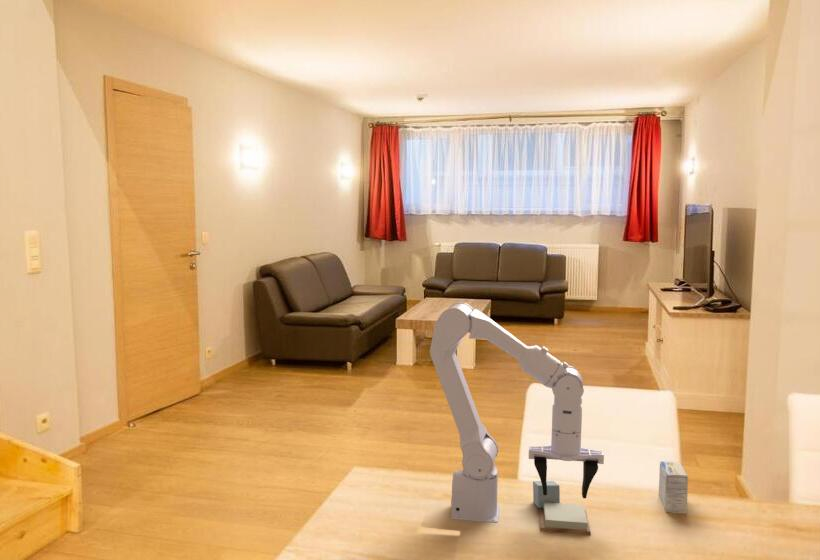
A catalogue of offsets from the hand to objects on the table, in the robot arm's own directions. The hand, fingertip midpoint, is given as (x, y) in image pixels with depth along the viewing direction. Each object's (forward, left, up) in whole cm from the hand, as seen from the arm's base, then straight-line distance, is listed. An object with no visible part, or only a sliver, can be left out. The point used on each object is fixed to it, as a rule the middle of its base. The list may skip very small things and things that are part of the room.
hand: (564, 494), depth 133 cm
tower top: (0, 0, -5) cm, 5 cm away
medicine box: (+23, +11, -6) cm, 26 cm away
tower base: (0, 0, -6) cm, 6 cm away
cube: (-3, +6, -5) cm, 9 cm away
